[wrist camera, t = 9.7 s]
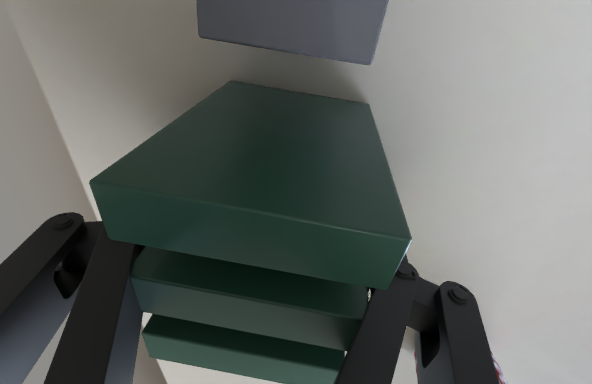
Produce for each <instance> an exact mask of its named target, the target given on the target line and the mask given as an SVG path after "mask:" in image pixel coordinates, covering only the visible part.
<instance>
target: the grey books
mask: <svg viewBox="0 0 592 384" xmlns="http://www.w3.org/2000/svg"><path fill="white" fill-rule="evenodd" d="M196 1H197V18H198V34H199V37H201V38H204V39H211V40H217V41H223V42H229V43H235V44H241V45H247V46H253V47H259V48H265V49H272V50H278V51H284V52H290V53H296V54H302V55H308V56H314V57H320V58H326V59H332V60H339V61H345V62H351V63H357V64H363V65H371V64H372V61H373V58H374V54H375V50H376V46H377V42H378V39H379V35H380V31H381V27H382V23H383V20H384V16H385V12H386V8H387V4H388V1H389V0H196Z"/></svg>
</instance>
